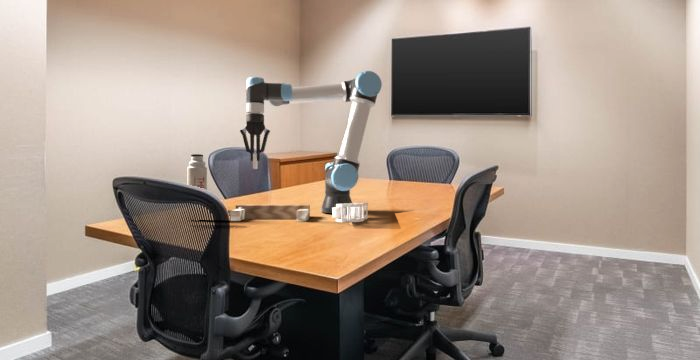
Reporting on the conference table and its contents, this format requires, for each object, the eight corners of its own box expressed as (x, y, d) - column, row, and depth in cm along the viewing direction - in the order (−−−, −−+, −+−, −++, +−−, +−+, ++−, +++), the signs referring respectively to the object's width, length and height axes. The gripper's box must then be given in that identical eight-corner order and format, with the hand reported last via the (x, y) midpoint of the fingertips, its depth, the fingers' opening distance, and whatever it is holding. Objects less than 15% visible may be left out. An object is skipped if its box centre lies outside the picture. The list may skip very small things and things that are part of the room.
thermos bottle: (207, 220, 214) (208, 154, 214) (187, 221, 211) (188, 153, 211) (205, 219, 222) (205, 154, 222) (186, 220, 219) (186, 154, 219)
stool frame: (309, 218, 230) (309, 204, 230) (305, 221, 210) (305, 207, 210) (231, 218, 231) (231, 204, 231) (219, 221, 211) (219, 207, 211)
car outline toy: (358, 218, 230) (358, 202, 230) (377, 220, 222) (377, 203, 222) (326, 221, 215) (326, 203, 215) (345, 222, 208) (345, 204, 208)
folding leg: (239, 221, 209) (239, 208, 209) (230, 221, 209) (230, 208, 209) (245, 218, 224) (245, 206, 224) (237, 218, 223) (237, 206, 223)
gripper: (271, 114, 224) (271, 168, 224) (241, 114, 224) (241, 168, 224) (269, 112, 216) (269, 168, 216) (238, 112, 216) (238, 168, 216)
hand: (255, 168), depth 220 cm, fingers closed
